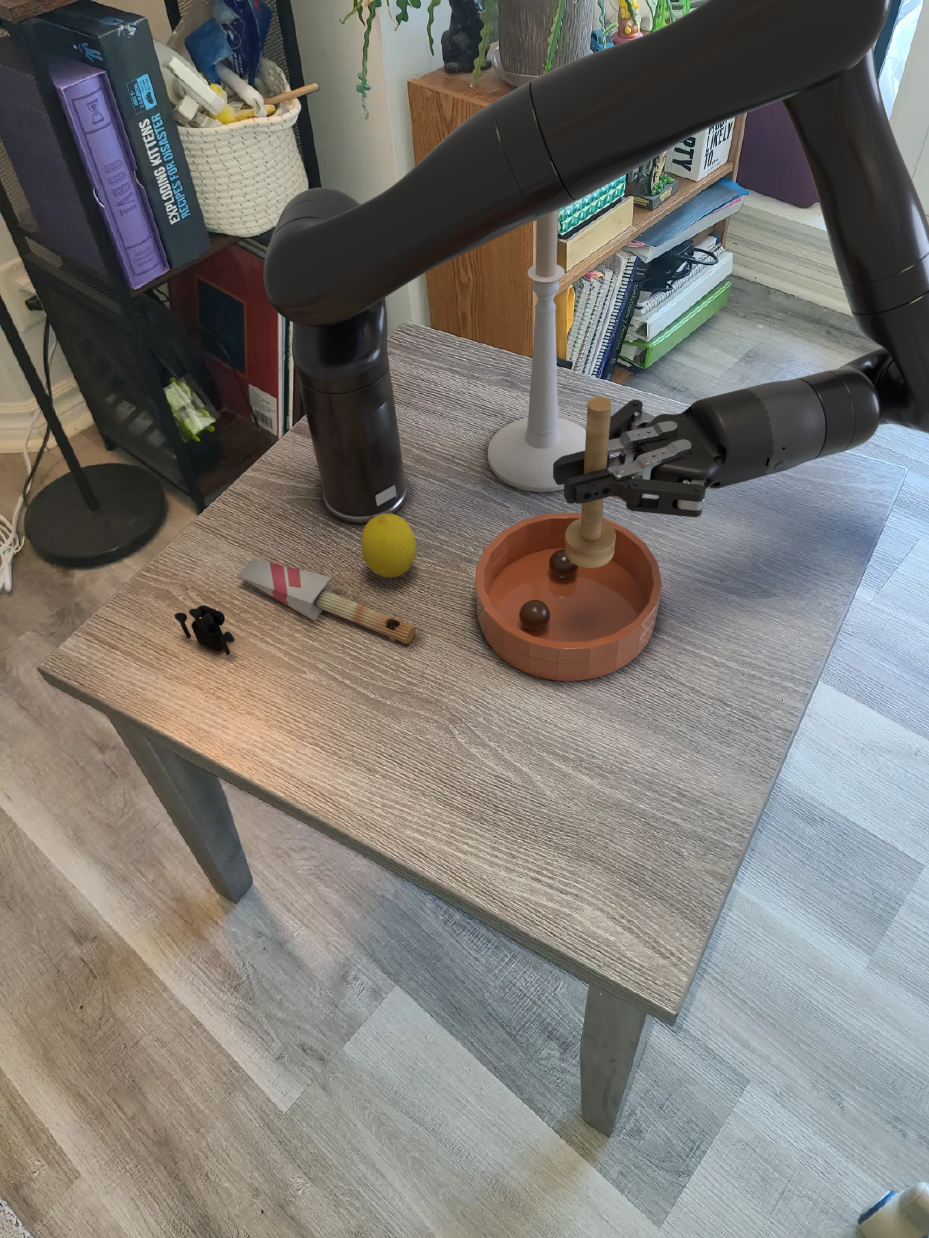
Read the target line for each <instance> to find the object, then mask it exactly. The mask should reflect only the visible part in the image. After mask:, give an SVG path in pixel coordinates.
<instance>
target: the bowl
mask: <svg viewBox="0 0 929 1238" xmlns="http://www.w3.org/2000/svg"><path fill="white" fill-rule="evenodd" d="M578 519H581V512H548V513H544V514H540V515H536V516H532V517H528V518H525V519H524V518H523V519H522V520H520V521H518V522H516V523H514V524H512V525H511V526H509V527H508V528H505V529H504V530H502V531H501V532H499V534H497V535H496V536H495V538H493V540H491V542H489V544H488V545H486V546H485V548H484V550H483V551H482V553H481V556H480V559H479V561H478V563H477V565H476V568H475V594H476V612H477V613H476V615H477V620H478V622H479V628H480V631H481V632H482V635H483V637H484V638H485V641H486V642H487V643H488V646H490V647H491V649H492V650H493V651H494V652H495V654H496V655H498V656H499V657H500V658H501V659H502V660H504V661H505V662H506V663H508V664H509V665H511V666H512V667H514V668H516V669H518V670H520V671H522V672H524V673H526V674H529V675H532V676H534V677H538V678H542V679H545V680H552V681H559V682H577V681H579V682H581V681H586V680H593V679H597V678H600V677H604V676H606V675H607V676H608V675H609V674H612V673H614V672H616V671H619V670H620V669H622V668H624V667H625V666H627V665H628V664H629V663H631V662H633V660H635V658H637V657H638V656H639V655H640V653H642V651H643V650H644V649H645V647H646V646H647V645H648V643H649V641H650V639H651V637H652V635H653V632H654V629H655V623H656V619H657V617H658V611H659V605H660V599H661V595H662V589H663V580H662V576H661V570H660V565H659V562H658V560H657V559H656V558H655V556H654V554H653V552H652V551H651V549H650V547H649V546H648V545H647V543H646V542H645V541H643V540H642V539H641V538H639V537H638V535H636V534H635V533H634V532H632V531H631V530H630V529H629V528H627V527H625V526H623V525H621V524H619V523H616V522H614V521H612V520H609V519H608V518H605V517H602V520H604V521H606V522H608V523H609V524H610V525H611V526H612V527H613V529H614V530H615V534H616V539H615V549H614V555H613V557H612V559H611V560H610V561H609V562H608V563H607V564H605V565H603V566H601V567H597V568H584V567H580V566H578V569H577V571H576V573H575V574H574V575H573V576H572V577H570V578H567V579H560V578H557V577H555V576H554V575H553V574H552V573H551V571H550V569H549V560H550V557H551V556H552V554H553V553H554V552H556V551H558V550H561V549H565V533H566V530H567V528H568V526H569V525H570V524H571V523H572V522H574V521H576V520H578ZM530 600H539V601H542V602H543V603H545V604H546V605H547V607H548V608H549V611H550V620H549V622H548V624H547V625H546V626H545V627H544V628H543V629H541V630H537V631H532V630H529V629H527V628H525V627H524V626H523V625H522V623H521V622H520V619H519V612H520V609H521V607H522V606H523V604H525V603H526V602H527V601H530Z"/></svg>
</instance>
